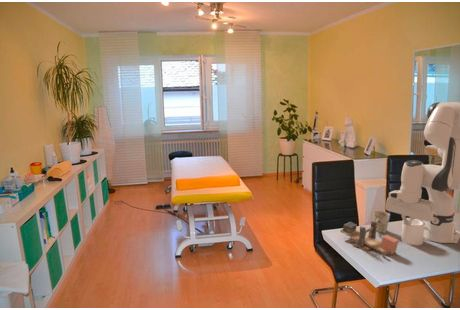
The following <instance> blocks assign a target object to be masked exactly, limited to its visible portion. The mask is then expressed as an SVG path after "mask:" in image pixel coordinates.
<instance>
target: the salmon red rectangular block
mask: <svg viewBox="0 0 460 310" xmlns="http://www.w3.org/2000/svg"><path fill="white" fill-rule="evenodd" d="M380 242H381V247H380V248H382V249H384V250H386V251H388V252H390V253H389V254H393V253H395V252H396V251H397V249H398V244H399V239H398V238H395V237H393V236H390V235H389V234H386V235H383V236H382V238H381V241H380Z"/></svg>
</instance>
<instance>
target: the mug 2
mask: <svg viewBox="0 0 460 310" xmlns="http://www.w3.org/2000/svg"><path fill="white" fill-rule="evenodd" d="M406 219H407V220H408V221H410V220H411V219H410V217H406ZM423 221H424V220H420V219H416V218H415V219H414V220H413V221H412V223H411V226H409V225H405V224H403V222H404V221H403V220H402V224H401V235H400V240H401V241H402V242H403V243H405V244H407V245H411V246H420V245H421V246H422V245H423V244H424V241H425V242H430V241H431V240H430V239H431V230H430V228H429V227H425V223H424V222H423ZM424 229H426V230H429V233H430V236H429V238H425V237H424Z"/></svg>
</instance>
